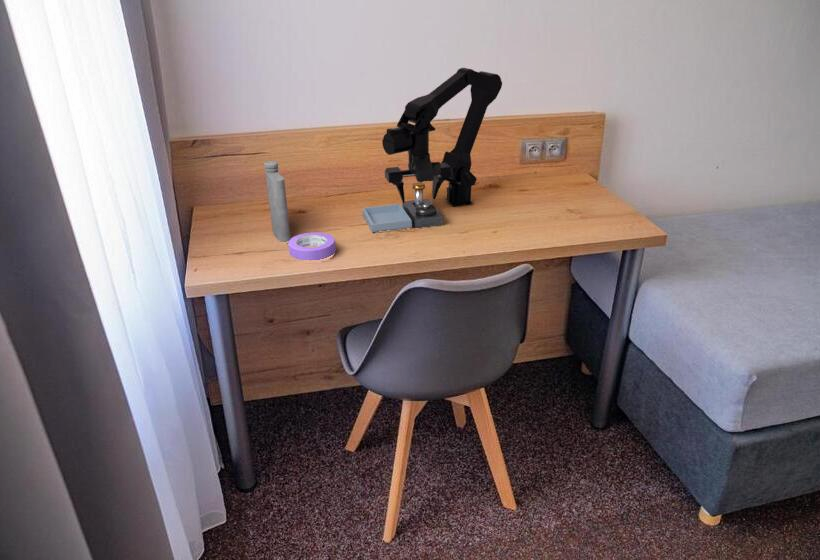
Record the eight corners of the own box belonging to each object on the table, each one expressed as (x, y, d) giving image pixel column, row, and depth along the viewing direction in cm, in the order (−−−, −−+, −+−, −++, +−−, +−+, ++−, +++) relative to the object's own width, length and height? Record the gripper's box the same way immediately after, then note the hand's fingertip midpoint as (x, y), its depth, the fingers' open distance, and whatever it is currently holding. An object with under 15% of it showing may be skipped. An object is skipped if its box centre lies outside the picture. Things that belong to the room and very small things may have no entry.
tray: (400, 211, 186) (399, 203, 185) (411, 228, 175) (411, 220, 173) (362, 215, 183) (362, 207, 182) (372, 233, 172) (371, 224, 171)
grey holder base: (428, 208, 188) (428, 191, 186) (442, 225, 176) (442, 207, 174) (402, 211, 186) (402, 193, 184) (415, 228, 174) (415, 210, 172)
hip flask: (291, 243, 167) (283, 170, 158) (276, 245, 166) (267, 172, 156) (283, 221, 180) (275, 153, 171) (269, 223, 179) (260, 154, 170)
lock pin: (422, 211, 186) (422, 182, 182) (426, 215, 183) (426, 186, 179) (411, 212, 185) (411, 183, 181) (414, 216, 182) (414, 187, 178)
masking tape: (292, 245, 166) (290, 232, 164) (336, 244, 167) (335, 230, 165) (287, 265, 156) (286, 251, 154) (334, 263, 156) (333, 249, 154)
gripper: (392, 159, 166) (394, 214, 173) (459, 153, 170) (458, 207, 178) (383, 148, 176) (385, 200, 183) (446, 142, 180) (446, 194, 187)
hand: (418, 200), depth 182 cm, fingers open, 9 cm apart
